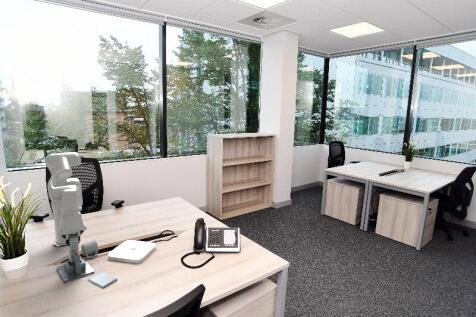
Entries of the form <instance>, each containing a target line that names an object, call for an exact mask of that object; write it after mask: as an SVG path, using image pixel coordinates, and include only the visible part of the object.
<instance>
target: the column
mask: <svg viewBox="0 0 476 317" xmlns="http://www.w3.org/2000/svg"><path fill="white" fill-rule="evenodd" d="M78 237H79V236H78V234H77V232H74V233H70V234H69V237H68V238H69V241H70V246H68V245H67V247H68V261H69V260H70V262H71V263H73V262H75V259H74V256H73V254H76V253H79V254H80V247H79V244H78Z"/></svg>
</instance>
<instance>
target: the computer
mask: <svg viewBox="0 0 476 317" xmlns="http://www.w3.org/2000/svg"><path fill="white" fill-rule="evenodd" d="M156 246H157V245H156V243H154V242H147V241H141V240H133V239H132V240H131V239H130V240H128V239H127V240H126V241H124V242H122V243H121V244H119V245H118V246H117V247H115V248H114V249H113V250H111V251H110V252H109V253H108V256H107V258H108V260H110V261H115V260H117V262H123V261H125V262H124V263H131V264H139V263H142V262H144V260H145V259H146V258H147V257H148V256H150V254H152V253H153V252H154V251H155V250H156Z"/></svg>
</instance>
